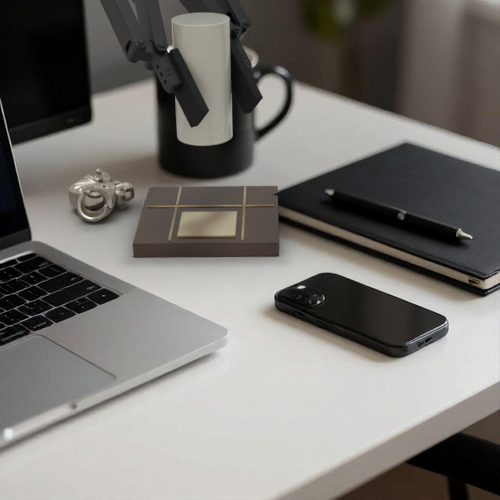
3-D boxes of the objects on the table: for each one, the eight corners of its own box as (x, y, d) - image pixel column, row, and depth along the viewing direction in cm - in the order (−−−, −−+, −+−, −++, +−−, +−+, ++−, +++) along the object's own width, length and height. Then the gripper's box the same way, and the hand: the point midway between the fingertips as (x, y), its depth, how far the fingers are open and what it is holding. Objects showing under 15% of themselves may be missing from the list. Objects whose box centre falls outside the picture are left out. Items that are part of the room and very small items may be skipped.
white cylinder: (233, 126, 89) (230, 12, 84) (231, 145, 85) (228, 25, 80) (179, 127, 89) (173, 12, 84) (175, 146, 85) (168, 25, 80)
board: (277, 198, 101) (277, 183, 100) (279, 256, 88) (279, 240, 88) (149, 199, 101) (148, 185, 101) (133, 257, 89) (132, 241, 88)
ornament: (136, 221, 96) (134, 189, 94) (69, 226, 95) (65, 194, 94) (133, 192, 103) (131, 161, 102) (71, 196, 102) (68, 165, 101)
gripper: (187, -79, 95) (287, 113, 91) (22, -61, 85) (126, 155, 81) (215, -132, 89) (324, 71, 85) (41, -119, 79) (154, 111, 75)
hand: (227, 112), depth 83 cm, fingers closed on white cylinder, 5 cm apart
